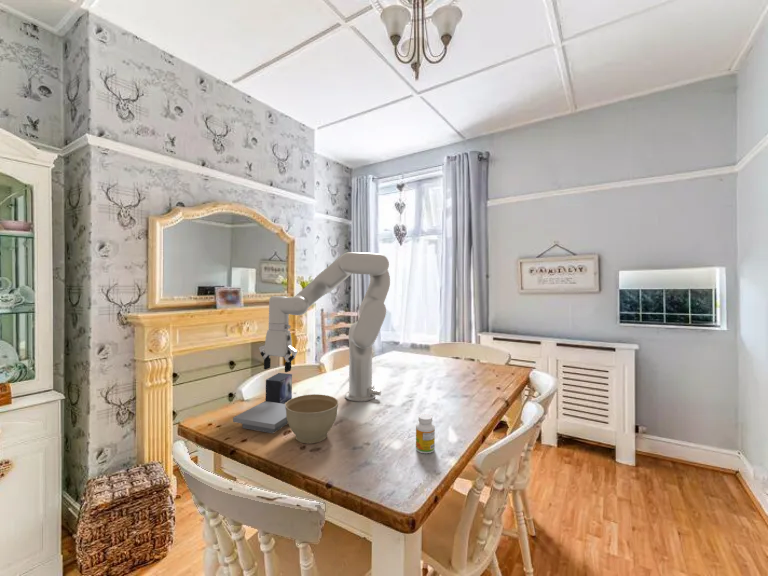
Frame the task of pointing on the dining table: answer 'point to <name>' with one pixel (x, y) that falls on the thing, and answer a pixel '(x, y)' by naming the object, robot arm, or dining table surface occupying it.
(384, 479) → the dining table surface
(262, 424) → the stand
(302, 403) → the planter bowl
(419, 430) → the supplement bottle
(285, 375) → the small box
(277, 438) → the dining table surface
